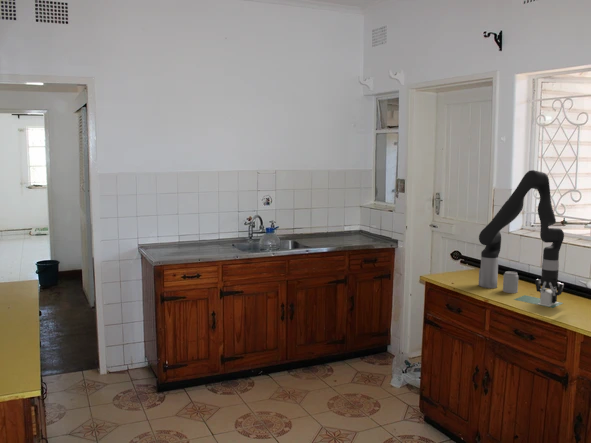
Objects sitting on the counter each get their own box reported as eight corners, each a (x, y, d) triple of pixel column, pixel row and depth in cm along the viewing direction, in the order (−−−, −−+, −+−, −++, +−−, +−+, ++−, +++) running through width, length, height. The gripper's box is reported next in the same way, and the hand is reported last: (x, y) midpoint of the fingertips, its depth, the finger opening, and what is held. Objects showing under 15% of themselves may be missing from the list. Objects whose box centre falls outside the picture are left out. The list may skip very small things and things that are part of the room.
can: (510, 296, 294) (511, 274, 293) (499, 293, 301) (500, 271, 299) (520, 294, 298) (521, 272, 296) (509, 291, 304) (510, 270, 303)
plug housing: (547, 300, 281) (548, 289, 280) (556, 302, 277) (556, 290, 277) (540, 303, 275) (540, 292, 274) (548, 305, 272) (549, 293, 271)
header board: (513, 302, 284) (513, 293, 283) (524, 297, 292) (524, 289, 291) (552, 310, 269) (553, 301, 268) (563, 305, 277) (564, 297, 276)
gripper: (568, 269, 271) (566, 303, 273) (539, 264, 282) (537, 297, 284) (561, 271, 266) (559, 306, 268) (532, 267, 277) (530, 300, 279)
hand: (548, 301), depth 276 cm, fingers open, 4 cm apart
